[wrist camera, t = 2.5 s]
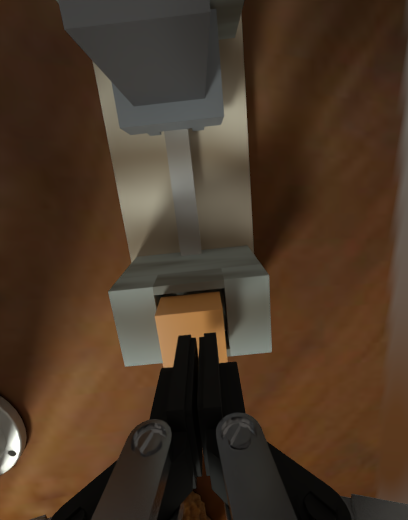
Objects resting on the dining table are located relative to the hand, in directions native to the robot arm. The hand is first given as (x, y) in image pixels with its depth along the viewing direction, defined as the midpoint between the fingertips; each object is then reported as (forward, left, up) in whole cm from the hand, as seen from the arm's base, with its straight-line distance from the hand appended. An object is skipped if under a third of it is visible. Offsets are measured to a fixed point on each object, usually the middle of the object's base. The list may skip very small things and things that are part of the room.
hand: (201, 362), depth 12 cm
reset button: (0, 0, -4) cm, 4 cm away
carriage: (+13, 0, -11) cm, 17 cm away
